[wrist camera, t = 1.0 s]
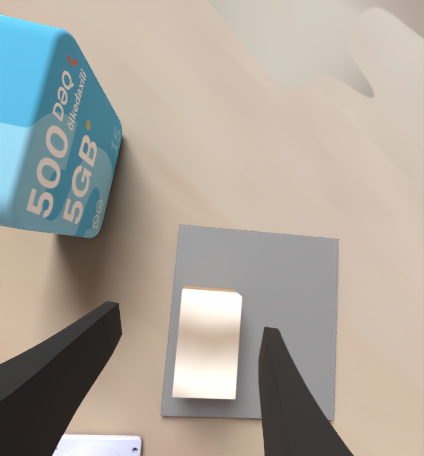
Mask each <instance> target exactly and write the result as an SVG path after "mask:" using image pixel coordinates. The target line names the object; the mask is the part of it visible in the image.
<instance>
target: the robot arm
mask: <svg viewBox="0 0 424 456" xmlns="http://www.w3.org/2000/svg"><path fill="white" fill-rule="evenodd" d="M121 335H122V329H121V320H120V311H119V303H115V302H108V301H107V302H105V303H104V304H102V305H101V306H99V307H97V308H96V309H94V310H93V311H91V312H90V313H88V314H87V315H85V316H84V317H82V318H81V319H79V320H77V321H76V322H74V323H73V324H71V325H70V326H68V327H67V328H65V329H63V330H62V331H60V332H58V333H57V334H55V335H53V336H52V337H50V338H48V339H47V340H45V341H43V342H42V343H40V344H38V345H36V346H35V347H33V348H31V349H29V350H27V351H25V352H23V353H22V354H20V355H18V356H16V357H14V358H12V359H10V360H8V361H6V362H4V363H2V364H0V456H140V455H141V445H142V439H141V437H139V436H123V435H71V434H64V432H65V430H66V429H67V427H68V425H69V423H70V421H71V419H72V417H73V416H74V414H75V412H76V410H77V409H78V407H79V405H80V404H81V402H82V401H83V399H84V398H85V396H86V394H87V393H88V391H89V390H90V388H91V387H92V385H93V384H94V382H95V381H96V379H97V377H98V376H99V374H100V373H101V371H102V370H103V368H104V367H105V365H106V363H107V362H108V360H109V359H110V357H111V355H112V354H113V352H114V350H115V348H116V346H117V344H118V342H119V340H120V337H121ZM258 384H259V395H260V406H261V417H262V427H263V438H264V452H265V456H354V455H353V454H352V453H351V451H350V450H349V449H348V448H347V446H346V445H345V443H344V442H343V441H342V439H341V438H340V436H339V435H338V434H337V432H336V431H335V429H334V428H333V426H332V425H331V423H330V422H329V421H328V419H327V418H326V416H325V415H324V413H323V411H322V410H321V408H320V407H319V405H318V404H317V402H316V400H315V399H314V397H313V395H312V394H311V392H310V390H309V389H308V387H307V385H306V383H305V382H304V380H303V378H302V376H301V374H300V373H299V371H298V369H297V367H296V365H295V363H294V361H293V359H292V357H291V355H290V353H289V351H288V349H287V347H286V345H285V342H284V340H283V338H282V335H281V333H280V331H279V329H277V328H271V327H265V326H264V331H263V336H262V342H261V347H260V352H259V358H258ZM56 448H57V449H56ZM133 448H137V450H134V449H133Z"/></svg>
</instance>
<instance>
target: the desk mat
mask: <svg viewBox="0 0 424 456" xmlns="http://www.w3.org/2000/svg"><path fill="white" fill-rule="evenodd" d="M338 247H339V239H333V238H322V237H311V236H300V235H289V234H278V233H267V232H256V231H246V230H235V229H224V228H213V227H202V226H191V225H180V224H179V233H178V243H177V253H176V264H175V274H174V284H173V294H172V304H171V314H170V325H169V335H168V345H167V355H166V365H165V375H164V386H163V396H162V406H161V416H186V417H224V418H262V417H261V406H260V395H259V384H258V358H259V352H260V347H261V342H262V336H263V331H264V326H265V327H271V328H277V329H279V331H280V333H281V335H282V338H283V340H284V342H285V345H286V347H287V349H288V351H289V353H290V355H291V357H292V359H293V361H294V363H295V365H296V367H297V369H298V371H299V373H300V374H301V376H302V378H303V380H304V382H305V383H306V385H307V387H308V389H309V390H310V392H311V394H312V395H313V397H314V399H315V400H316V402H317V404H318V405H319V407H320V408H321V410H322V411H323V413H324V415H325V416H326V418H327V419H328V420H334V410H335V369H336V329H337V288H338ZM184 285H185V286H199V287H213V288H227V289H234V290H235V291H236V292H237V293H238V294H240V295H241V296H242V305H241V320H240V335H239V350H238V365H237V380H236V395H235V399H212V398H182V397H172V393H173V382H174V372H175V361H176V351H177V340H178V329H179V319H180V308H181V297H182V290H183V286H184Z"/></svg>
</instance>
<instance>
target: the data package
mask: <svg viewBox="0 0 424 456" xmlns="http://www.w3.org/2000/svg"><path fill="white" fill-rule="evenodd" d="M121 140H122V127H121V123H120V120H119V118H118V117H117V115H116V113H115V111H114V109H113V108H112V106H111V104H110V102H109V100H108V98H107V97H106V95H105V93H104V91H103V89H102V88H101V86H100V84H99V82H98V80H97V78H96V77H95V75H94V73H93V71H92V69H91V68H90V66H89V64H88V62H87V60H86V58H85V57H84V55H83V53H82V51H81V49H80V48H79V46H78V44H77V42H76V40H75V39H74V38H73V36H72V35H71V34H70V33H69V32H67V31H66V30H64V29H60V28H56V27H51V26H47V25H43V24H38V23H34V22H30V21H25V20H21V19H17V18H13V17H8V16H4V15H0V226H6V227H12V228H17V229H23V230H31V231H39V232H47V233H54V234H62V235H70V236H78V237H85V238H93V237H95V236H96V235H97V234H98V233H99V231H100V229H101V227H102V223H103V219H104V215H105V210H106V206H107V202H108V197H109V193H110V188H111V184H112V180H113V175H114V171H115V167H116V162H117V158H118V154H119V149H120V145H121Z"/></svg>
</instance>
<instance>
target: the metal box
mask: <svg viewBox="0 0 424 456" xmlns="http://www.w3.org/2000/svg"><path fill="white" fill-rule="evenodd" d="M241 305H242V296H241V295H240V294H238V293H237V292H236V291H235V290H234V289H227V288H213V287H199V286H185V285H184V286H183V290H182V297H181V308H180V319H179V329H178V340H177V351H176V361H175V372H174V382H173V393H172V397H182V398H212V399H235V395H236V380H237V365H238V350H239V335H240V320H241Z"/></svg>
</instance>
